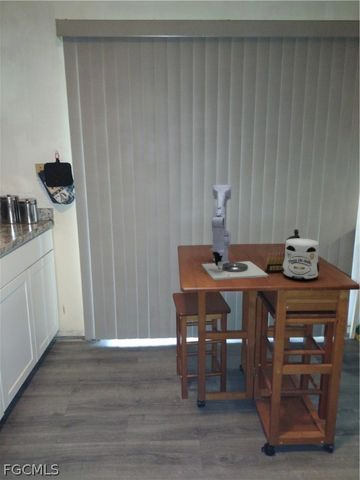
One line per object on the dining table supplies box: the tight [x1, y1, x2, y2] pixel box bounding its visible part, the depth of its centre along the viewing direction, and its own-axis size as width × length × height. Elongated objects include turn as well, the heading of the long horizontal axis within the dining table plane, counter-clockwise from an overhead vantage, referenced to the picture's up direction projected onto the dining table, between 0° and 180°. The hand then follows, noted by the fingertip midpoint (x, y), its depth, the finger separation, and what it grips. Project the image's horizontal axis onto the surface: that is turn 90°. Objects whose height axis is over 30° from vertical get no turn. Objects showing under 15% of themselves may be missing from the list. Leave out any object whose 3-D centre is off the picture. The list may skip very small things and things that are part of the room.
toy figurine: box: [284, 228, 301, 245], centre depth 225 cm, size 9×19×25 cm
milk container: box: [282, 237, 320, 281], centre depth 184 cm, size 17×17×18 cm
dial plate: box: [201, 260, 269, 281], centre depth 197 cm, size 26×28×1 cm
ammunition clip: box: [264, 250, 285, 273], centre depth 192 cm, size 11×2×12 cm, turn 94°
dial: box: [218, 261, 248, 272], centre depth 196 cm, size 18×14×5 cm
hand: (218, 265), depth 194 cm, fingers closed, pressing on dial
